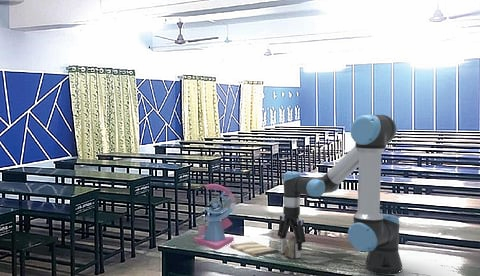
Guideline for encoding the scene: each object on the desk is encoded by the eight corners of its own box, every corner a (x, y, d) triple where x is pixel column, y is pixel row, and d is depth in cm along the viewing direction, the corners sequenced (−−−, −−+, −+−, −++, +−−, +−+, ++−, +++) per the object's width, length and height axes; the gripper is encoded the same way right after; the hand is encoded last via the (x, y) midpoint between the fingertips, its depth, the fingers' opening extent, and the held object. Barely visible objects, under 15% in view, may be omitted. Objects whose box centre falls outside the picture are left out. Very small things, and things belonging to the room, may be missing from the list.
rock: (288, 248, 240) (289, 230, 236) (301, 251, 237) (302, 233, 234) (279, 262, 230) (280, 244, 226) (293, 266, 227) (294, 247, 223)
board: (278, 252, 237) (278, 250, 237) (255, 256, 230) (255, 254, 229) (252, 243, 254) (252, 241, 254) (229, 247, 246) (230, 244, 246)
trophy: (233, 240, 259) (234, 182, 257) (237, 249, 242) (238, 186, 241) (193, 241, 256) (194, 182, 255) (195, 250, 239) (196, 187, 238)
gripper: (314, 208, 224) (313, 259, 225) (282, 201, 241) (281, 248, 242) (302, 210, 220) (301, 262, 221) (270, 203, 237) (269, 250, 238)
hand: (290, 254), depth 232 cm, fingers closed on rock, 9 cm apart
